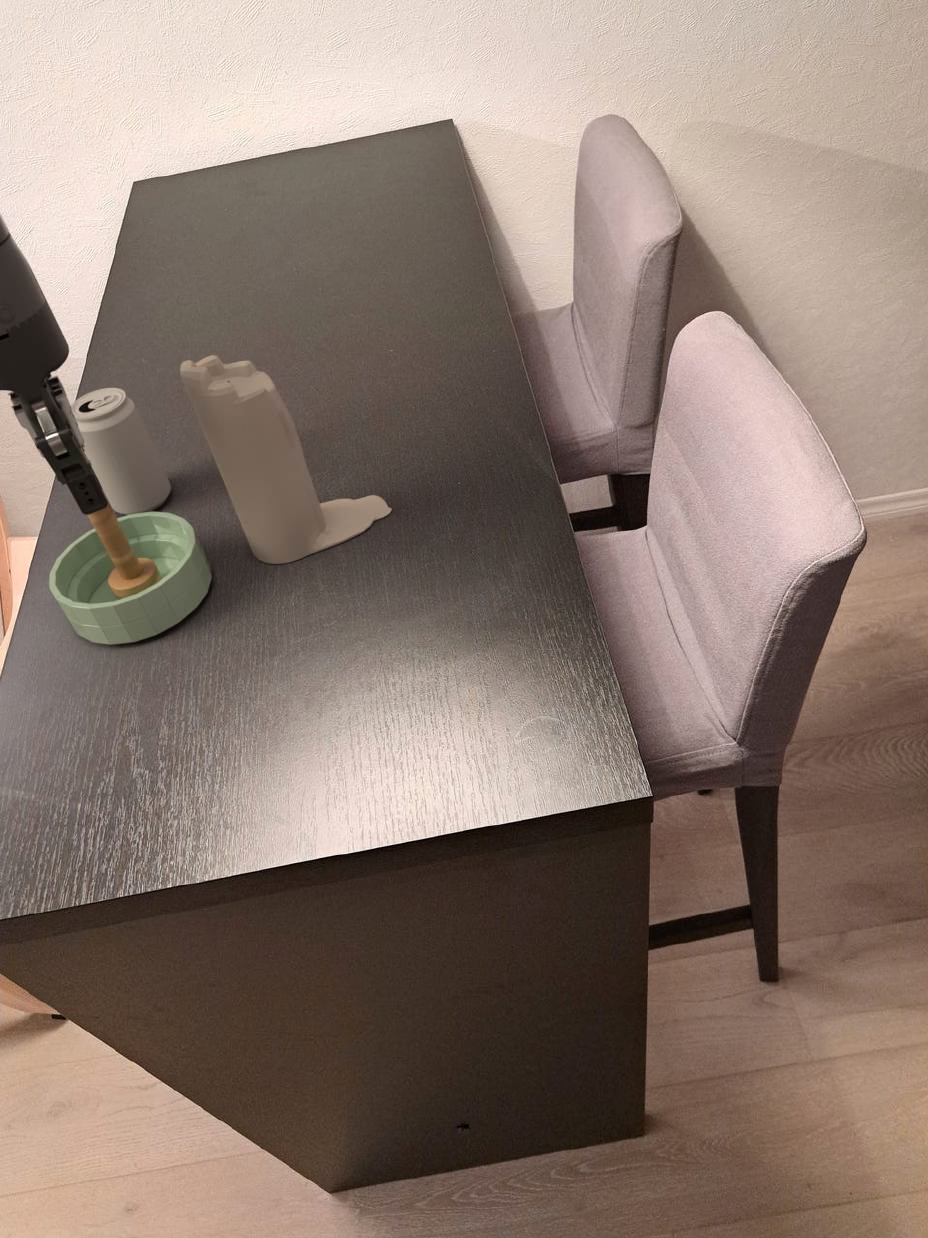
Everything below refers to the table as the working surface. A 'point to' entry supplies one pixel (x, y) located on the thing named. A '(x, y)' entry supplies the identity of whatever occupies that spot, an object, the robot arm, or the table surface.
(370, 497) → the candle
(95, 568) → the bowl
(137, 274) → the table surface
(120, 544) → the pestle
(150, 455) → the beverage can
